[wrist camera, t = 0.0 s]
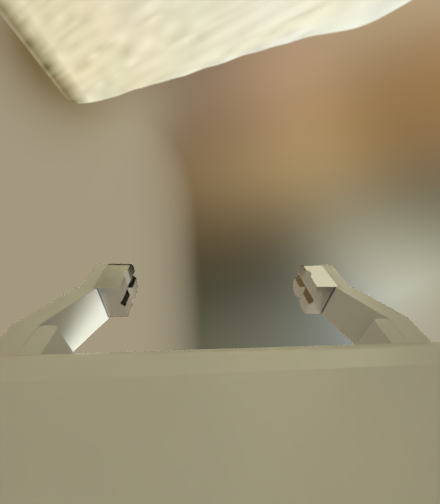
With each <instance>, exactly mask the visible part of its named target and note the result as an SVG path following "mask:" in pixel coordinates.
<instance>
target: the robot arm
mask: <svg viewBox="0 0 440 504" xmlns="http://www.w3.org/2000/svg"><path fill="white" fill-rule="evenodd" d="M134 272H135V270H134V267H133V265H132V264H101V263H99V264H96V265H95V266H94V268H93V269H92V271H91V272H90V274H89V275H88V277H87V278H86V279H85V281H84V283H83V284H82V285H81V287H80V288H75V289H74V290H72V291H70V292H69V293H67V294H65V295H63V296H61V297H60V298H58V299H56V300H54V301H53V302H51V303H49V304H47V305H46V306H44V307H43V308H41V309H39V310H37V311H35V312H33V313H32V314H30V315H28V316H26V317H25V318H23V319H21V320H20V321H18V322H16V323H14V324H12V325H11V326H10V327H9V328H8V330H7V331H6V332H5V333H4V334H3V335H2V336H1V338H0V504H440V342H431V341H430V340H429V339H428V338H427V337H426V336H425V335H424V334H423V333H422V332H421V331H420V330H419V329H418V327H417V326H416V325H415V324H414V323H413V322H412V321H411V320H410V319H409V318H408V317H406V316H404V315H402V314H400V313H399V312H397V311H395V310H393V309H391V308H390V307H388V306H386V305H384V304H382V303H381V302H379V301H377V300H375V299H373V298H372V297H370V296H368V295H366V294H364V293H363V292H361V291H359V290H357V289H355V288H354V287H349V286H348V284H347V283H346V282H345V281H344V280H343V278H342V277H341V276H340V275H339V274H338V272H337V271H336V270H335V269H334V267H333V266H331V265H300V267H299V268H298V270H297V272H298V274H299V275H298V276H297V277H295V279H294V282H293V289H294V293H295V295H296V296H297V297H298V298H299V299H301V300H300V302H299V303H300V305H301V307H302V309H303V311H304V313H305V314H322V315H323V316H324V317H325V318H326V319H327V320H328V321H329V322H330V323H332V324H333V325H334V326H335V327H336V328H337V329H338V330H340V331H341V332H342V333H343V334H344V335H345V336H347V337H348V338H349V339H350V340H351V341H352V342H353V343H354V344H355V345H331V346H330V345H329V346H302V347H301V346H300V347H299V346H298V347H271V348H270V347H268V348H239V349H238V348H236V349H204V350H173V351H143V352H113V353H112V352H110V353H79V354H74V353H73V351H74V350H75V349H76V348H77V347H78V346H79V345H81V344H82V343H83V342H84V341H85V340H86V339H87V338H88V337H89V336H90V335H91V334H92V333H93V332H95V331H96V330H97V329H98V328H99V327H100V326H101V325H102V324H103V323H104V322H105V321H106V320H107V319H108V317H127V316H129V313H130V310H131V308H132V301H131V300H132V299H134V298H135V296H136V293H137V287H138V286H137V278H136V277H135V276H133V274H134Z"/></svg>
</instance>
